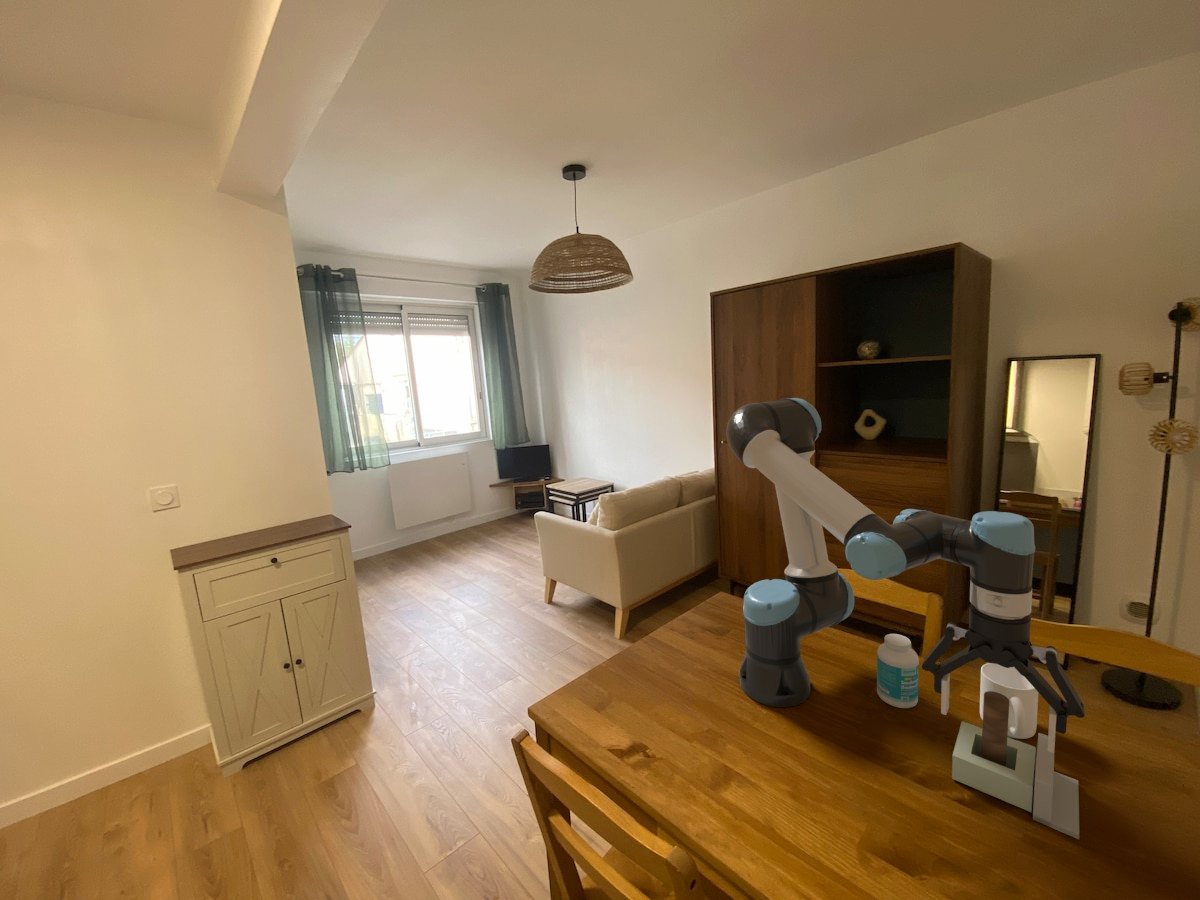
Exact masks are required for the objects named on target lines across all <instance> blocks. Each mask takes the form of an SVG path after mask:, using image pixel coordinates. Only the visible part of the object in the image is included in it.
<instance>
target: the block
mask: <svg viewBox="0 0 1200 900" xmlns="http://www.w3.org/2000/svg"><path fill="white" fill-rule="evenodd" d="M981 749H982V727H980V726H978V725H974V724H971V723H968V722H965V721H963V720H962V721H961V723H960V727H959V730H958V735H957V737H956V741H955V745H954V749H953V751H952V756H951V757H952V758H951V759H952V761H951V762H952V764H951V768H952V769H951V774H952V775H951V779H952V780H955V781H956V782H959V783H961V784H964V785H967V786H968V787H971V788H973V789H975V790H978V791H979V792H982V793H985V794H986V795H989V796H991V797H994V798H995V799H996V798H997V799H999V800H1001V801H1004V802H1005V803H1007V804H1011V805H1013V806H1015V807H1018V808H1020V809H1023V810H1025V811H1027V812H1029V813H1032V814H1033V801H1034V785H1035V771H1036V758H1037V746H1033V745H1031V744H1029V743H1025V742H1023V741H1020V740H1018V739H1015V738H1011V737H1007V752H1006V767H1004V766H1002V765H999V764H997V763H994V762H992V761H989V760H986V759H984V758H981Z"/></svg>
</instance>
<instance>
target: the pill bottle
mask: <svg viewBox="0 0 1200 900" xmlns="http://www.w3.org/2000/svg"><path fill="white" fill-rule="evenodd" d="M918 655H919V654H918V653H917V652H916V651H915V650H914V649H913V648H912V642H911V640H910V639H909V638H908V637H907V636H905V635H902V634H897V633H889V634H885V636H884V642H883V643H881V644H880V645H879V646H878V647H877V651H876V693H877V695H878V696H879V698H880V699H881V700H882V701H883V702H885V703H887V704H888V705H890V706H892V707H895V708H900V709H910V708H911V709H912V708H914V707H915V706H917V704H918V701H919V669H920V668H919V666H920V665H919V662H920V660H919V656H918Z"/></svg>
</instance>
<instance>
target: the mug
mask: <svg viewBox="0 0 1200 900" xmlns="http://www.w3.org/2000/svg"><path fill="white" fill-rule="evenodd" d="M987 691H993V692H997V693H1000V694H1002V695H1004V696H1006V697H1007V698H1008V699H1009V717H1008V734H1007V737H1008V738H1011V739H1015V740H1018V739H1019V740H1024V739H1030V738H1032V737H1034V736H1035V734H1036V733H1037V724H1038V705H1039V692H1038V691H1037V690H1036V689H1035V688H1034V687H1033V686H1032V684H1031V683H1030V682H1029V681H1028V680H1027V679H1026V678H1025V677H1024V676H1022V675H1021V674H1020V673H1019V672H1018V671H1017V669H1016V668H1015V667H1009V668H1006V667H1003V666H1000V665H998V664H993V663H988V662H986V663H985V664H983V665H982V666H981V667H980V689H979V694H980V695H979V714H980V715H979V716H980V719H981V720H982V721H983V706H984V693H985V692H987Z"/></svg>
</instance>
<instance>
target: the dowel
mask: <svg viewBox="0 0 1200 900" xmlns="http://www.w3.org/2000/svg"><path fill="white" fill-rule="evenodd" d="M1008 717H1009V699H1008V698H1007V697H1006V696H1004V695H1002V694H1000V693H997V692H993V691H987V692H985V693H984V706H983V720H982V727H981V728H982V749H981V758H984V759H986V760H989V761H992V762H994V763H997V764H999V765H1002V766H1004V767H1006V752H1007V734H1008Z"/></svg>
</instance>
